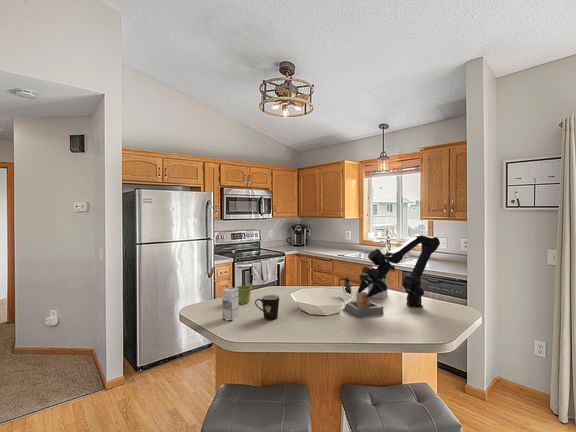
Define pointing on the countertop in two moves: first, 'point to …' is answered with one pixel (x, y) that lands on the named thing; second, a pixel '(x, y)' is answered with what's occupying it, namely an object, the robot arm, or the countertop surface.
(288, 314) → the countertop surface
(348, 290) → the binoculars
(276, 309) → the coffee mug
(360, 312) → the collar
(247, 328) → the countertop surface
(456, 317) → the countertop surface
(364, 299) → the oak block
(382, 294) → the supplement box
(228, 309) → the syrup box
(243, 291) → the plant pot
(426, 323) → the countertop surface
